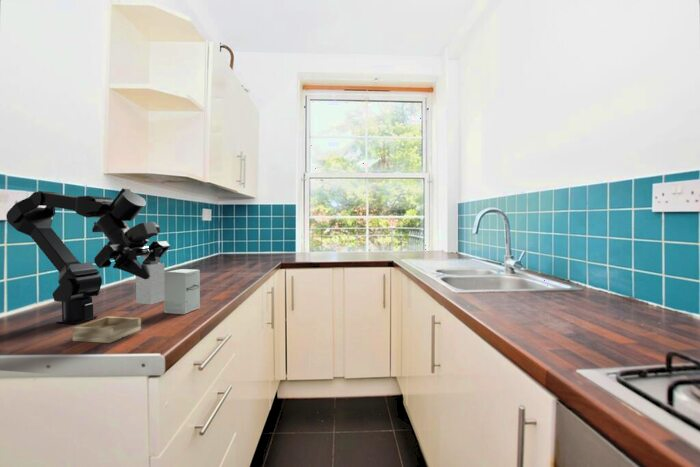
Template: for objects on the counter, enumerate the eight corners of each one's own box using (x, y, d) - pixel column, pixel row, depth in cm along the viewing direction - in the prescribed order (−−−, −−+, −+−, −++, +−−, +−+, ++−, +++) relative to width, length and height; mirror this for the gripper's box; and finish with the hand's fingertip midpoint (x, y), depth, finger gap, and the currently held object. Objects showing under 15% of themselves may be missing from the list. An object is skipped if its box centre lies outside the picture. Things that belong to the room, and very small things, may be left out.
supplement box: (185, 314, 99) (184, 272, 98) (163, 313, 100) (163, 271, 100) (200, 308, 106) (200, 269, 105) (180, 307, 107) (180, 268, 107)
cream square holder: (72, 340, 77) (72, 327, 76) (107, 327, 86) (107, 316, 86) (109, 342, 75) (109, 329, 75) (141, 329, 85) (140, 318, 85)
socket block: (136, 303, 84) (135, 261, 84) (150, 299, 89) (150, 259, 89) (150, 304, 84) (150, 262, 83) (164, 300, 88) (164, 260, 88)
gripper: (103, 210, 77) (143, 259, 75) (164, 212, 95) (198, 252, 93) (76, 243, 79) (115, 291, 77) (141, 239, 97) (174, 278, 95)
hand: (154, 276), depth 86 cm, fingers closed on socket block, 4 cm apart
